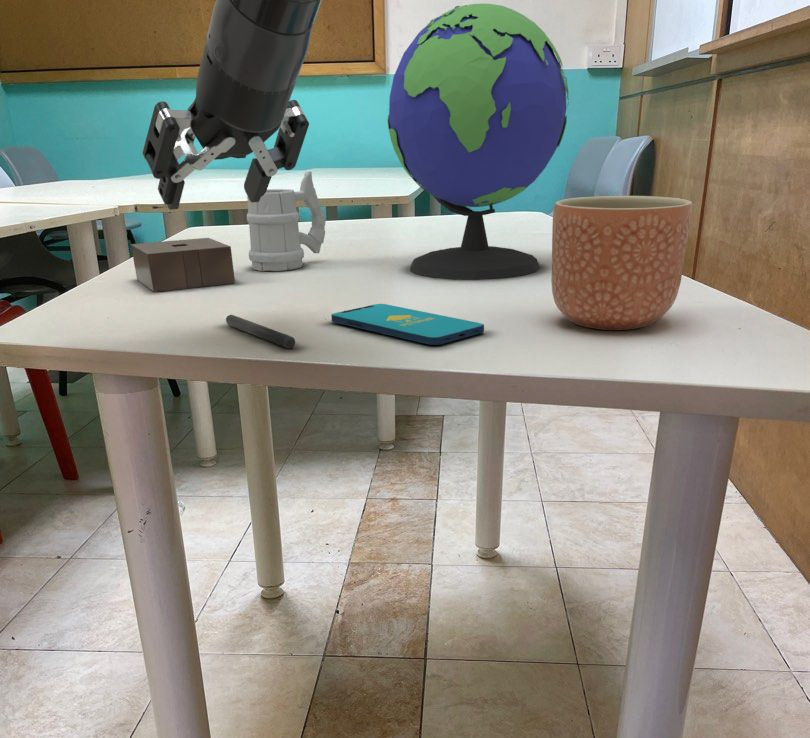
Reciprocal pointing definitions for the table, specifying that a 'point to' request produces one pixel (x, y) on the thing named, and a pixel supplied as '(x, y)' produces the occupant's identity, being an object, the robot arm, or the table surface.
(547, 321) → the table surface
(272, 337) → the stylus
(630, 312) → the planter
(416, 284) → the table surface
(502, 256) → the globe
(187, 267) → the pen stand
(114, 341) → the table surface
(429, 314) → the smartphone
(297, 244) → the mug
